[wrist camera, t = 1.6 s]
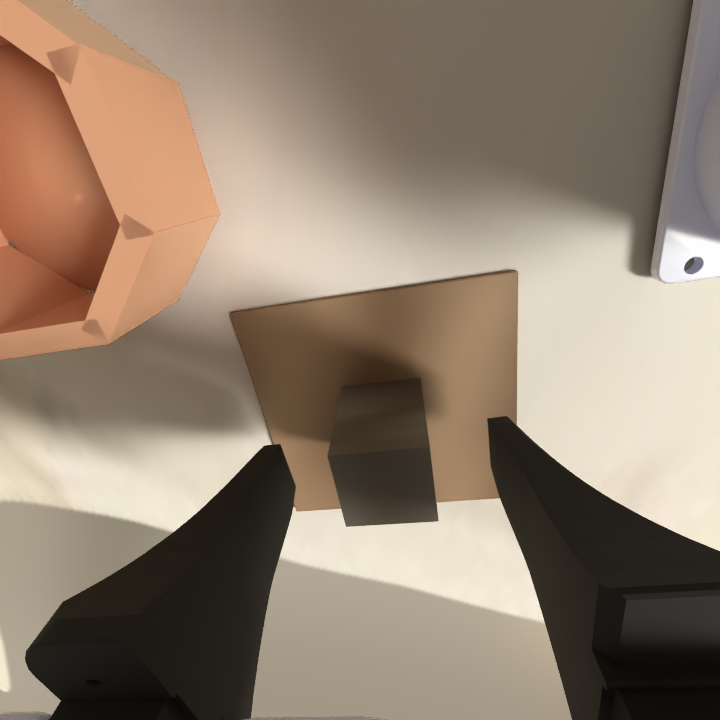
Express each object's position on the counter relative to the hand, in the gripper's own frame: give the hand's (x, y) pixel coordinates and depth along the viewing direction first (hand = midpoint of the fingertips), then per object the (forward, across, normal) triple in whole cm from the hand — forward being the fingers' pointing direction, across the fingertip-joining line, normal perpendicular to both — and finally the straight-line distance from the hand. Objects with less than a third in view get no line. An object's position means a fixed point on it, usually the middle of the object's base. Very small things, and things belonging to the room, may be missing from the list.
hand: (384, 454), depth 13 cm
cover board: (+3, 0, 0) cm, 3 cm away
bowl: (+3, +8, -10) cm, 13 cm away
